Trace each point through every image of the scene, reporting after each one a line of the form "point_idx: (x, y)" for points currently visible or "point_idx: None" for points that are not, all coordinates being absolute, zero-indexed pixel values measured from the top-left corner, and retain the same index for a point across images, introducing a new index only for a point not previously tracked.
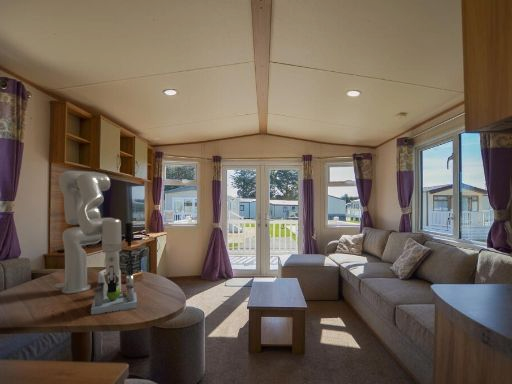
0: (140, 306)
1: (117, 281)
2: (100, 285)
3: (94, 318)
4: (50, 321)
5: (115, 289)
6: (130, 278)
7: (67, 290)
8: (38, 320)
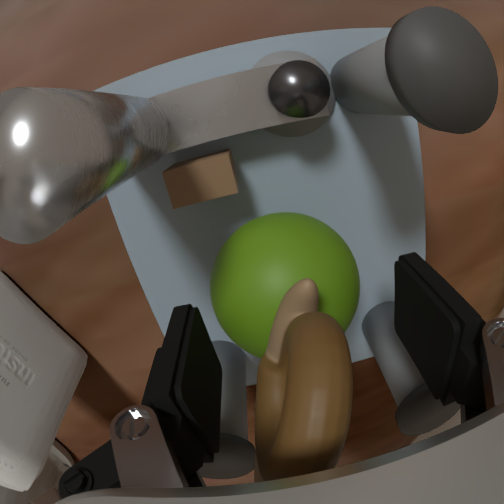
0: (347, 15)
1: (341, 329)
2: (252, 447)
3: (459, 281)
4: (395, 425)
5: (425, 269)
6: (94, 122)
7: (62, 466)
8: (362, 455)
